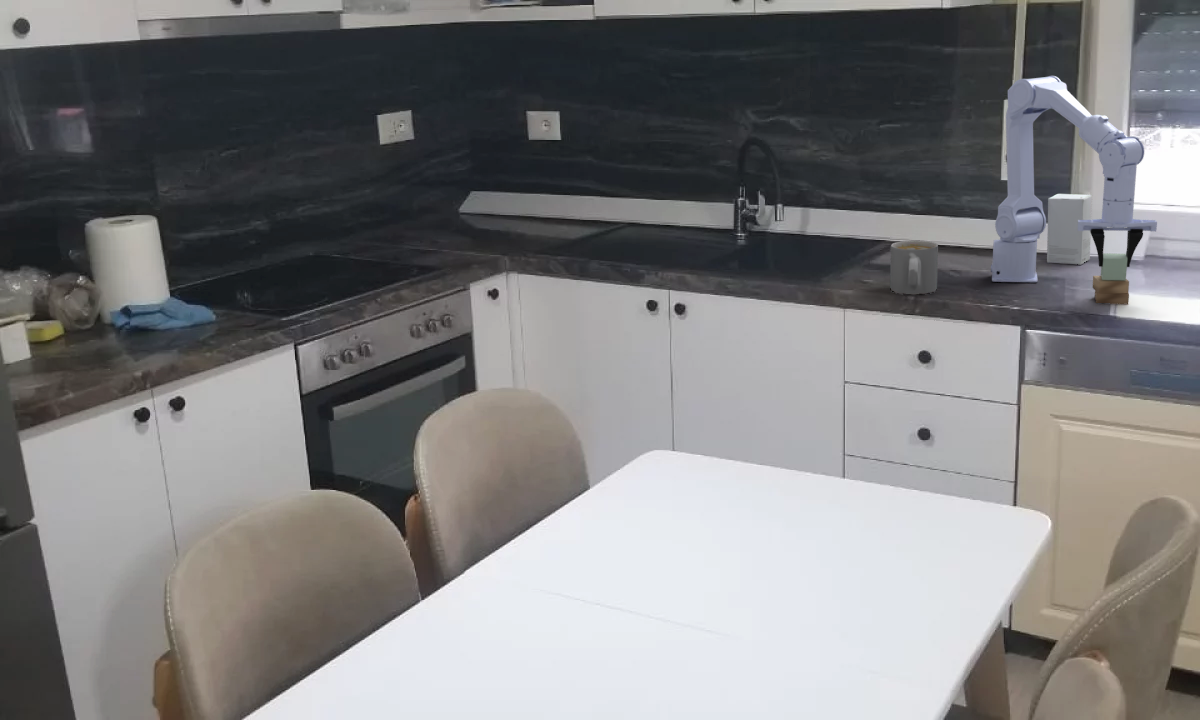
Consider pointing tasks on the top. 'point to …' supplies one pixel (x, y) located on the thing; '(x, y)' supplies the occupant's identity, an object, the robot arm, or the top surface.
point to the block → (1114, 266)
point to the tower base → (1112, 298)
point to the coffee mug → (913, 267)
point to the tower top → (1110, 286)
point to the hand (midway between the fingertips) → (1113, 265)
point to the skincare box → (1068, 229)
